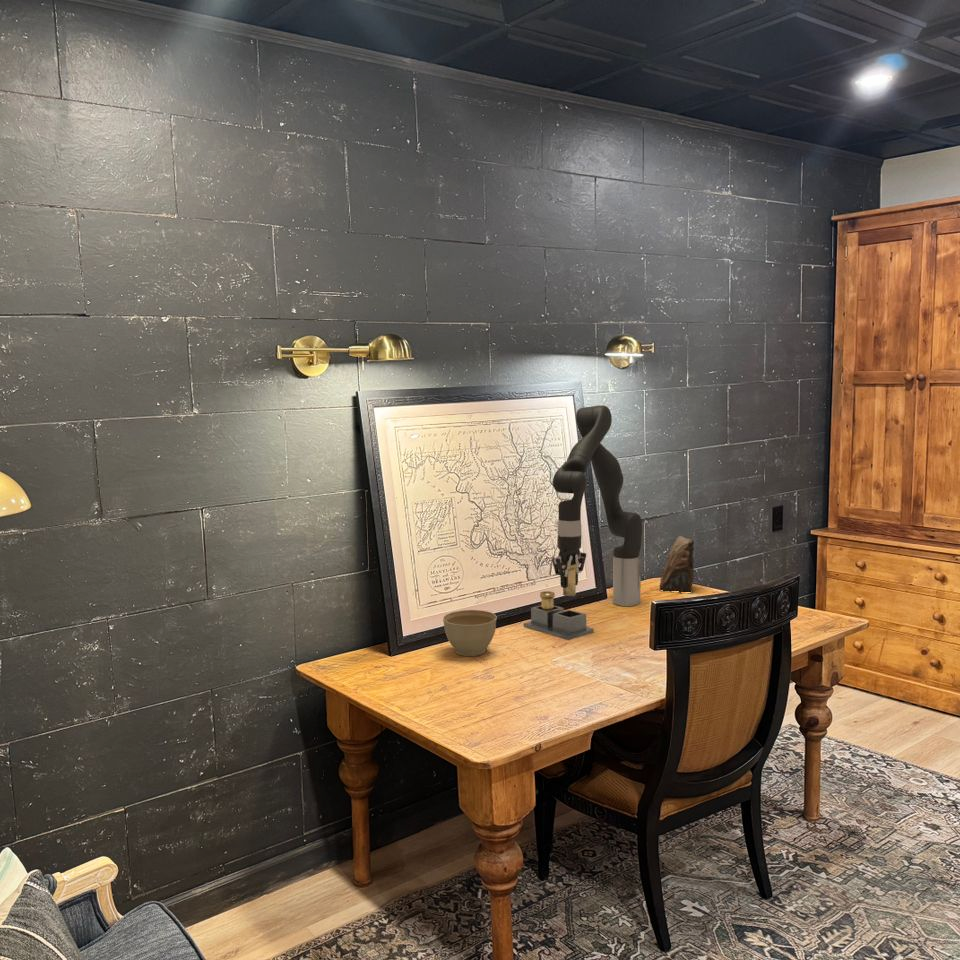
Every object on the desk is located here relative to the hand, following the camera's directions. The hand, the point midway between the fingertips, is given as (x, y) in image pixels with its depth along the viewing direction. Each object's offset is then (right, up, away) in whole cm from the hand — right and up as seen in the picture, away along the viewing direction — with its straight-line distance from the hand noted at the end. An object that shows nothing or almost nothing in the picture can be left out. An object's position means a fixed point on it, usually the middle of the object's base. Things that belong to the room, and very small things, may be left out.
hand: (569, 586), depth 290 cm
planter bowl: (-31, -18, -16) cm, 40 cm away
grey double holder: (-3, -15, +6) cm, 16 cm away
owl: (+46, -8, +55) cm, 72 cm away
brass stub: (0, -3, 0) cm, 3 cm away
